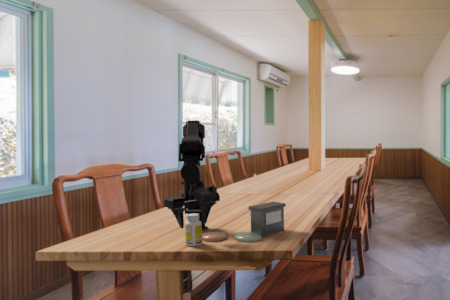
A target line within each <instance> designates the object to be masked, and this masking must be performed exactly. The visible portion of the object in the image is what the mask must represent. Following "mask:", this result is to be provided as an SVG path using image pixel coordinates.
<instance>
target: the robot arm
mask: <svg viewBox="0 0 450 300" xmlns="http://www.w3.org/2000/svg"><path fill="white" fill-rule="evenodd" d="M205 133H206V129H205V125H203V124H202V123H200V120H198V119H197V120H187V121H185V124H184V125H183V126H182V139H181V142H180V143H179V144H178V162H183V163H182V167H181V169H180V176H181V178H182V179H183V180H181V182H180V183H181V184H180V185H183V193H181V197H180V196H169V197H165V199H164V201H163V204H164V205H163V206H164V207H165V208H167V209H168V210H170V211H171V212H172V214H173V215H174V217H175V220H176V221H177V223H178V225H179V228H180V229H184V227H185V223H184V222H185V219H184V214H185V215H188V214H192V213H196V214H199V220H200V221H201V223H202V230H205V229H208V228H209V226H208V225H207V226H206V224H207V222H208V218H209V214H210V212H211V209H212V207H213V206H214V205H217V202H220V200H221V199H220V197H221V196H220V193H219V192H218V189H217V186H215V185H211V186H209V187H206V186H205V183H204V180H202V166H201V162H203V161H204V159H206V148H205V147H206V146H205V145H204V139H205V138H206V134H205Z"/></svg>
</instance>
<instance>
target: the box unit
mask: <svg viewBox="0 0 450 300" xmlns="http://www.w3.org/2000/svg"><path fill="white" fill-rule="evenodd" d="M286 206H287V205H286V203H284V202H277V201H270V202H265V203H259V204H256V205H251V206H248V210H249V211H250V232H253V233H258V234H261V238H265V237H268V236H271V235H273V234H274V235H275V234H277V233H282V232H284V231H285V215H284V214H285V213H284V212H285V210H284V208H285V207H286Z"/></svg>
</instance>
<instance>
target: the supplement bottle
mask: <svg viewBox="0 0 450 300" xmlns="http://www.w3.org/2000/svg"><path fill="white" fill-rule="evenodd" d="M186 219H187V220H186V221H185V223H184V229H185V244H186V246H189V247H197V246H198V247H199V246H201V245H202V244H203V240H202V234H203V229H202V223H201V221H200V220H199V214H196V213H192V214H186Z"/></svg>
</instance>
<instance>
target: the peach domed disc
mask: <svg viewBox="0 0 450 300" xmlns="http://www.w3.org/2000/svg"><path fill="white" fill-rule="evenodd" d="M226 239H227V233H225V232H223V231H222V232H220V231H208V232H207V231H206V232H204V233H203V232H202V242H203V241H204V242H208V243H209V242H211V243H213V242H214V243H215V242H220V241H224V240H226Z"/></svg>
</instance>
